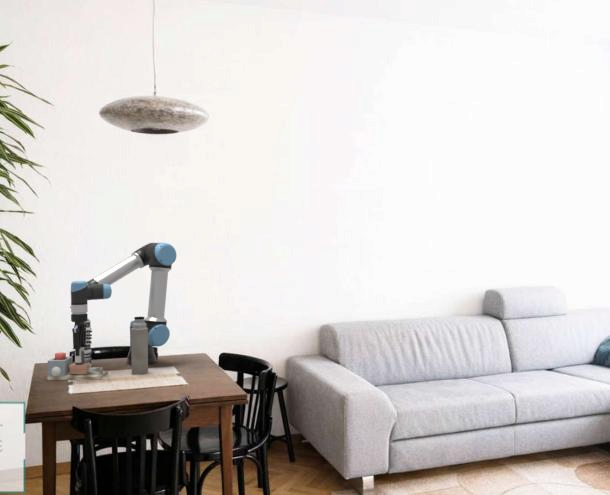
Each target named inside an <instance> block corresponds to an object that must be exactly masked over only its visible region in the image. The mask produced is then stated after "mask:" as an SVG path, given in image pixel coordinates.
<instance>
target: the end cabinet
mask: <svg viewBox="0 0 610 495" xmlns="http://www.w3.org/2000/svg"><path fill="white" fill-rule="evenodd" d="M73 360H74V359H73V356H66V359H65V360H55V357H53V358H51V359H49V360H47V377H65V376H67V375H68V374H70V369H69V365H71V364H73V363H74V362H73Z"/></svg>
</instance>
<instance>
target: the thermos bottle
mask: <svg viewBox="0 0 610 495" xmlns="http://www.w3.org/2000/svg"><path fill="white" fill-rule="evenodd" d="M145 318H146V317H145V316H134V318H133V319H134V320H133V321H134V323H133V328H131V364H130V365H131V374H132V375H134V374H142V375H147V374H148V373H149V364H148V328H147V327H146V323H145V320H144V319H145ZM146 373H147V374H146Z"/></svg>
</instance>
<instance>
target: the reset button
mask: <svg viewBox="0 0 610 495" xmlns="http://www.w3.org/2000/svg"><path fill="white" fill-rule="evenodd" d="M66 357H67V352H56V353H54V358H55V360H65V359H66Z"/></svg>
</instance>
